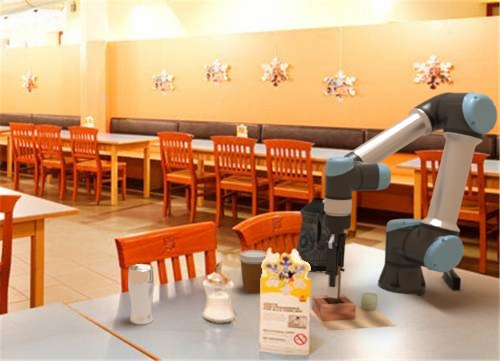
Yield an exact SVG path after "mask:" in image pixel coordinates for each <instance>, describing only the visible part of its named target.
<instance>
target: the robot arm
mask: <svg viewBox="0 0 500 361" xmlns="http://www.w3.org/2000/svg"><path fill="white" fill-rule="evenodd" d="M497 119H498V110H497V106H496V105H495V102H494V100H493V99H492V98H490V96H489V95H487V94H484V93H480V92H479V93H477V92H471V91H470V92H448V91H447V92H443V93H439V94H436V95H434V96H432V97H430V98H428V99H426V100H424V101H423V102H421V103H419V104H417V105H416V106H415V107H413V108H411V109H410V110H409V112H408V115H406V116H405V117H403V118H402V119H400V120H398V121H397V122H395V123H394V124H393V125H391V126H389V127H387V128H386V129H385V130H383V131H381V132H380V133H379V134H376V135H375V136H373V137H372V138H370V139H369V140H367V141H366V142H364V143H363V144H361V145H360V146H358V147H356V148H355V149H353V150H352V151H350V152H348V153H347V154H345V155H344V156H331V157H328V158H327V160H326V163H325V167H324V199H325V200H323V201H322V202H323V203H324V204H325V205H324V211H325V212H326V213H325V214H324V220H323V225H324V227H326V228H329V229H330V234H328V241H326V272H324V274H325V275H327V276H328V278H327V295H328V296H327V297H331V298H338V277H339V275H338V266H340V267H341V271H340V293H339V295H342V294H341V292H342V289H341V288H342V273H343V272H345V270H346V268H344V266H345V264H344V263H345V252H346V238H347V236H348V233H347V232H345V231H346V230H348V229H349V230H350V228H351V226H352V214H351V213H352V210H353V209H352V208H353V192H357V191H358V192H359V191H360V192H363V191H380V190H386V189H387V188H388V187H389V186H390V184H391V181H392V172H391V170H390V167H389V166H388V165H387V164H386V163H381V162H383V161H384V160H386V159H387V158H388V157H390V156H392V155H394V154H395V153H396V152H398V151H400V150H401V149H403V148H404V147H406V146H408V145H409V144H410V143H412V142H414V141H415V140H417V139H418V138H419V137H421V136H424V137H427V136H428V135H430V134H432V133H433V132H438V131H442V135H443V137H444V138H445V144H444V148H443V151H442V156H441V160H440V162H439V163H440V164H439V168H438V171H437V176H436V180H435V183H434V189H433V192H432V195H431V196H432V197H431V200H430V205H429V207H428V212H427V216H426V217H425V218H423V219H419V218H398V219H391V220H389V221H388V222H387V223H386V228H385V229H386V230H385V245H384V246H385V247H384V250H385V251H384V266H383V268H382V270H381V271H380V272H381V273H380V275H379V278H378V280H377V286H378V287H379V288H380V289H382V290H384V291H387V292H391V293H393V294H401V295H402V294H403V295H404V294H405V295H417V296H421V295H425V293H426V291H427V288H426V287H427V283H426V279H425V276H424V273H423V269H422V267H423V268H426V269H427V270H428V271H434V272H438V273H443V272H448V271H450V270H452V269H454V268H456V267H457V266H458V265H459V263H460V262H461V260H462V258H463V256H464V251H465V248H464V246H465V245H463V241H462V240H461V238H459V236H460V232H461V230H460V228H459V227H458V225H457V222H458V217H459V214H460V209H461V205H462V202H463V198H464V194H465V189H466V185H467V182H468V178H469V174H470V169H471V167H472V162H473V157H474V155H475V151H476V150H475V149H476V147H477V146H478V145H479V144H481V143H482V142H483V140H484V136H485V134H488V133H490V132H491V131H492V130H493V129H494V128H495V126H496V123H497ZM344 230H345V231H344Z"/></svg>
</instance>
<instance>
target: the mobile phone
mask: <svg viewBox="0 0 500 361" xmlns="http://www.w3.org/2000/svg"><path fill="white" fill-rule="evenodd" d="M442 273H443V275H441V278H442V279H443V280H444V281H445V283H446V284H447V285H449V286H448V287H449V288H450V290H452V289H453V290H452V291H455V290H459V291H460V290H461V284H462V283H461V282H462V280H461V277H460V276H459V275H458V274H457V273H456V271H455V269H454V268H453V269H452V270H450V271H448V272H442Z"/></svg>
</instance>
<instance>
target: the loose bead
mask: <svg viewBox="0 0 500 361" xmlns="http://www.w3.org/2000/svg"><path fill="white" fill-rule="evenodd" d="M377 303H378V294H376V293H373V292H363V293H361V304H360V306H361V309H363V310H366V311H375V310H376V309H377V306H378V304H377ZM377 310H378V309H377Z"/></svg>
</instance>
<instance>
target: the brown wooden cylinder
mask: <svg viewBox="0 0 500 361" xmlns="http://www.w3.org/2000/svg"><path fill="white" fill-rule="evenodd" d="M340 272H342V271H341V267H340V266H338V275H339V277H338V298H331V297H328V304H339V293H340Z"/></svg>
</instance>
